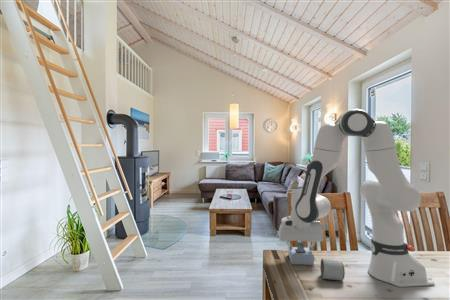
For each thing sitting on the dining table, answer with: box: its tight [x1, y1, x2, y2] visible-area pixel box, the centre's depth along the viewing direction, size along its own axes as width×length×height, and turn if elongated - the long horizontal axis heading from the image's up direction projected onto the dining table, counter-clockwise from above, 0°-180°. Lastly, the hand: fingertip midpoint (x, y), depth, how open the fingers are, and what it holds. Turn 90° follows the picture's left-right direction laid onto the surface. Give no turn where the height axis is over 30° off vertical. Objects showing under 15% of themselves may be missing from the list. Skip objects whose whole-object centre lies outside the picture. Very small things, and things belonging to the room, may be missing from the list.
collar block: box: [287, 246, 315, 266], centre depth 124 cm, size 10×10×4 cm
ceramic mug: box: [320, 258, 346, 281], centre depth 107 cm, size 11×8×8 cm
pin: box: [296, 241, 305, 253], centre depth 123 cm, size 3×3×8 cm
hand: (300, 249), depth 124 cm, fingers open, 8 cm apart
